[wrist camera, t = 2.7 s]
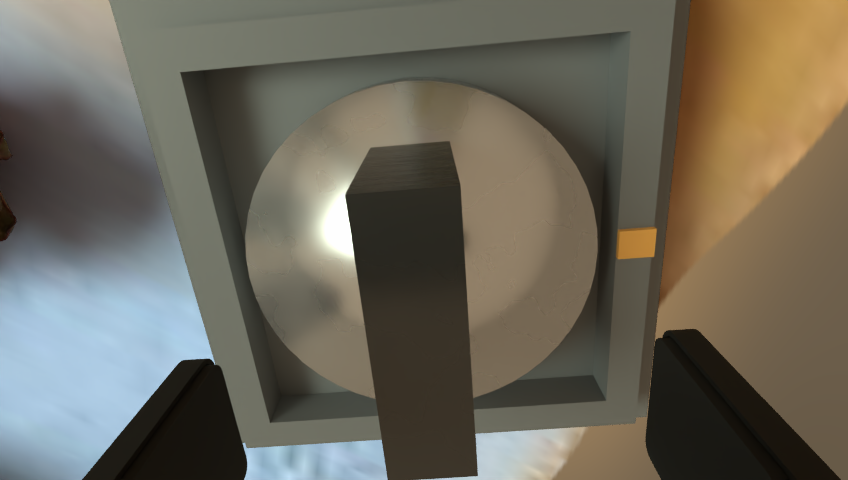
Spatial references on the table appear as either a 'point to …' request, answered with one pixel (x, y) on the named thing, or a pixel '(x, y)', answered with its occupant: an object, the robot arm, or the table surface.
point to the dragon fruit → (3, 219)
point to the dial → (422, 256)
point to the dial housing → (394, 59)
